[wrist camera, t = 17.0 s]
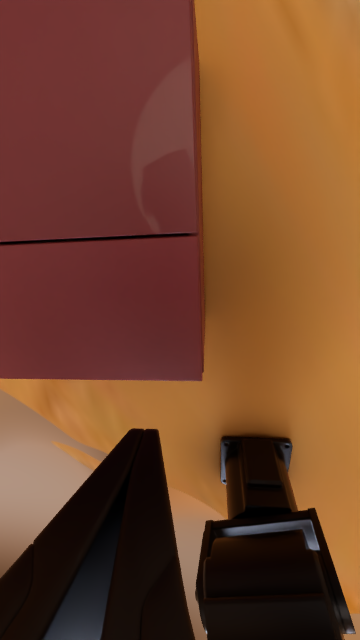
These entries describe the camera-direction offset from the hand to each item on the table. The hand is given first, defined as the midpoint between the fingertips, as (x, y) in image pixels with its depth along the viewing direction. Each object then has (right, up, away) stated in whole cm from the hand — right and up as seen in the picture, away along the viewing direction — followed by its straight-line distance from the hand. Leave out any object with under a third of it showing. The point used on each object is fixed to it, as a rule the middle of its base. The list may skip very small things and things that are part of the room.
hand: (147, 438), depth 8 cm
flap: (-4, +4, +5) cm, 8 cm away
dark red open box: (-4, +10, +10) cm, 15 cm away
